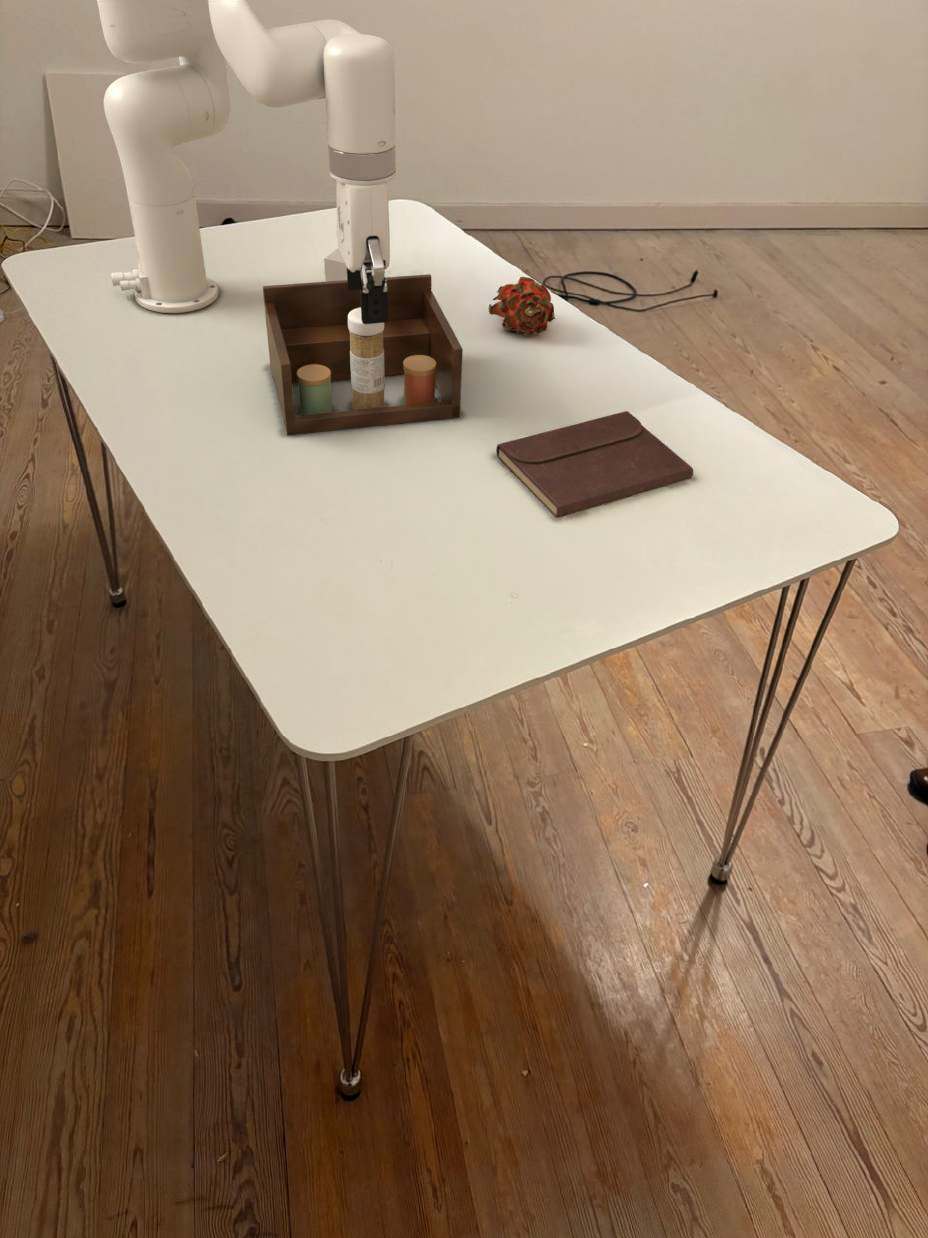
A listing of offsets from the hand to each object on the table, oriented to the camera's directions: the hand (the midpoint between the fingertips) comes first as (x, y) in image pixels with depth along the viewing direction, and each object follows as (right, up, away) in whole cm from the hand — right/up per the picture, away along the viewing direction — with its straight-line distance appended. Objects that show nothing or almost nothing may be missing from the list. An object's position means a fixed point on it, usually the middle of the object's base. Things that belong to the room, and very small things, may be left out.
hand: (367, 304), depth 126 cm
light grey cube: (-6, +13, +36) cm, 39 cm away
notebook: (+28, -20, +2) cm, 35 cm away
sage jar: (-8, -12, +9) cm, 16 cm away
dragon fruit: (+21, +5, +29) cm, 36 cm away
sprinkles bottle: (-1, -11, +10) cm, 15 cm away
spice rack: (-2, -8, +13) cm, 15 cm away
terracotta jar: (+6, -10, +12) cm, 16 cm away
